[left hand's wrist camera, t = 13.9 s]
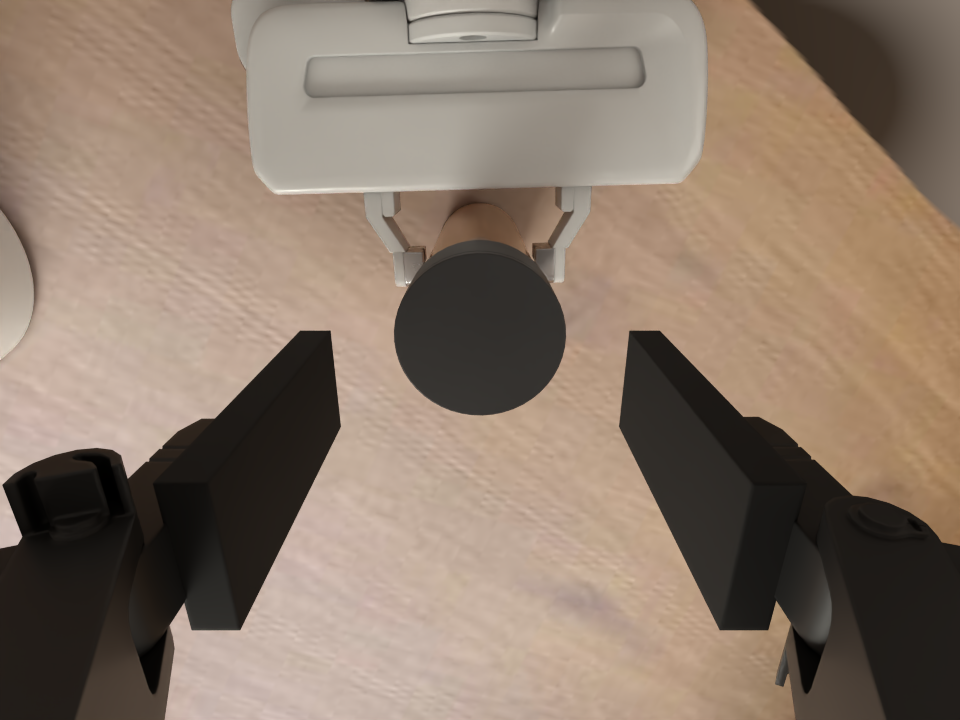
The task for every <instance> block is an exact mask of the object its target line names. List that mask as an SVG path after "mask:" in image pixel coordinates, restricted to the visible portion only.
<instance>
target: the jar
mask: <svg viewBox="0 0 960 720" xmlns="http://www.w3.org/2000/svg"><path fill="white" fill-rule="evenodd" d="M471 240H489V241H495V242H500V243H503V244H506V245H509V246H511V247H513V248H516V249H518V250H519V251H521V252H522V253H524V254H526V255H527V256H528V257H529V258H531V257H530V255H529V253H528V251H527V248H526V246H525V244H524V242H523V240H522V237H521V235H520V233H519V231H518V229H517V226H516V224H515V223H514V221H513V220H512V218H511V217H510V216H509V215H508V214H507V213H506V212H505V211H503V210H502V209H500V208H499V207H496V206H494V205H491V204H487V203H473V204H469V205H466V206H463V207H461V208H460V209H458V210H457V211H455V212H454V213H453V214H452V215H451V216H450V217H449V218H448V220H447V221H446V223H445V224H444V226H443V229H442V231H441V233H440V235H439V237H438V240H437V242H436V244H435V246H434V249H433V251H432V253H431V255H430V257H432V256H433V255H435V254H436V253H437V252H439V251H441V250H443V249H444V248H446V247H448V246H451V245H454V244H456V243H460V242H465V241H471ZM430 257H429V258H430Z"/></svg>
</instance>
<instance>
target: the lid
mask: <svg viewBox="0 0 960 720" xmlns="http://www.w3.org/2000/svg"><path fill="white" fill-rule="evenodd" d="M565 341H566V326H565V320H564V315H563V312H562V309H561V306H560V303H559V301H558V299H557V297H556V295H555V293H554V291H553V289H552V287H551V285H550V283H549V281H548V279H547V277H546V276H545V274H544V273H543V271H542V270H541V269H540V268H539V266H538V265H537V264H536V263H535V262H534V261H533V260H532V259H531V258H529V257H528V256H527V255H526V254H524V253H522V252H521V251H519V250H518V249H516V248H513V247H511V246H509V245H506V244H503V243H500V242H495V241H489V240H471V241H465V242H460V243H456V244H454V245H451V246H448V247H446V248H444V249H443V250H441V251H439V252H437V253H436V254H435V255H433V256H432V257H430V258H429V259H428V260H427V261H426V262H425V263H424V264H423V265H422V266H421V268H420V269H419V270H418V271H417V273H416V274H415V276H414V278H413V279H412V281H411V283H410V285H409V287H408V289H407V291H406V293H405V295H404V297H403V299H402V301H401V304H400V306H399V308H398V312H397V316H396V319H395V327H394V342H395V348H396V353H397V356H398V359H399V362H400V365H401V367H402V369H403V371H404V373H405V374H406V376H407V377H408V379H409V380H410V382H411V383H412V384H413V385H414V386H415V388H416V389H417V390H418V391H419V392H421V393H422V394H423V395H424V396H425V397H427V398H428V399H429V400H431V401H432V402H434V403H436V404H437V405H439V406H441V407H443V408H446V409H448V410H451V411H454V412H458V413H462V414H469V415H492V414H498V413H502V412H506V411H509V410H512V409H514V408H517V407H519V406H521V405H523V404H524V403H526V402H528V401H529V400H531V399H532V398H534V397H535V396H536V395H537V394H538V393H540V392H541V391H542V390H543V389H544V388H545V386H546V385H547V384H548V383H549V382H550V380H551V379H552V378H553V376H554V374H555V373H556V371H557V369H558V367H559V365H560V362H561V359H562V357H563V353H564V348H565Z"/></svg>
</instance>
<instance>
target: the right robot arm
mask: <svg viewBox="0 0 960 720" xmlns="http://www.w3.org/2000/svg"><path fill="white" fill-rule="evenodd" d="M368 1H369V2H368ZM231 18H232V24H233V30H234V36H235V42H236V48H237V52H238V55H239V58H240V61H241V63H242V65H243V67H244V68H245V70H246V87H247V115H248V129H249V140H250V149H251V157H252V164H253V168H254V171H255V173H256V175H257V176H258V178H259V179H260V180H261V181H262V182H263V183H264V184H265V185H266V186H267V187H268V188H269V189H270V190H271V191H272V192H273V193H274V194H277V195H292V194H327V193H362V192H364V202H365V212H366V218H367V220H368V221H369V223H370V224H371V226H372V227H373V228H374V230H375V231H376V233H377V234H378V236H379V237H380V239H381V240H382V242H383V243H384V244H385V246H386V247H387V249H388V250H389V252H390V253H393V261H394V273H395V283H396V286H397V287H406V286H409V285H410V283H411V281H412V279H413V278H414V276H415V274H416V273H417V271H418V270H419V269H420V268H421V266H422V265H423V264H424V263H425V261H426V259H427V258H426V246H410V244H409V243H408V241H407V240H406V238H405V236H404V235H403V233H402V232H401V230H400V229H399V227H398V225H397V224H396V222H395V221H394V219H393V216H394V215H395V214H396V213H398V212H399V211H400V210H401V205H400V191H433V190H468V189H503V188H538V187H556V196H555V205H556V206H557V207H558V208H559V209H561V210H562V211H563V212H564V214H563V216H562V217H561V219H560V221H559V223H558V224H557V226H556V228H555V230H554V231H553V233H552V235H551V237H550V239H549V240H548V242H546V243H532V256H533V259H534V262H535V263H536V264H537V265H538V266H539V268H540V269H541V270H542V271H543V273H544V274H545V276H546V277H547V279H548V281H549V283H553V282H554V283H556V282H563V281H564V276H565V248H568V247H569V245H570V244H571V242H572V240H573V239H574V237H575V236H576V234H577V232H578V231H579V229H580V228H581V226H582V224H583V223H584V221H585V219H586V218H587V216H588V215H589V213H590V205H591V186H609V185H644V184H677V183H681V182H682V181H683V180H684V179H685V178H686V177H687V176H688V175H689V174H690V173H691V171H692V170H693V169H694V168H695V166H696V165H697V164H698V162H699V161H700V159H701V156H702V152H703V146H704V139H705V129H706V116H707V96H708V50H707V37H706V30H705V26H704V22H703V19H702V16H701V14H700V12H699V10H698V8H697V7H696V5H695V4H694V3H693V1H692V0H232V4H231ZM33 307H34V284H33V278H32V272H31V268H30V265H29V261H28V258H27V255H26V253H25V250H24V248H23V246H22V243H21V241H20V239H19V237H18V235H17V234H16V232H15V230H14V228H13V227H12V225H11V223H10V222H9V220H8V219H7V217H6V216H5V215H4V213H3V212H2V211H1V209H0V360H1V359H2V358H3V357H5V356H6V355H7V354H8V353H9V352H10V351H12V350H13V349H14V348H15V347H16V346H17V344H18V343H19V342H20V341H21V339H22V338H23V336H24V335H25V333H26V331H27V329H28V326H29V323H30V321H31V317H32V313H33Z"/></svg>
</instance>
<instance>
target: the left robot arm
mask: <svg viewBox="0 0 960 720" xmlns="http://www.w3.org/2000/svg"><path fill="white" fill-rule="evenodd" d="M340 427H341V424H340V414H339V405H338V396H337V387H336V378H335V368H334V359H333V350H332V341H331V331H300V332H299V333H298V334H297V335H296V336H295V337H294V338H293V339H292V340H291V341H290V342H289V343H288V344H287V345H286V346H285V347H284V348H283V349H282V350H281V351H280V352H279V353H278V354H277V355H276V356H275V357H274V358H273V359H272V360H271V361H270V362H269V364H268V365H267V366H266V367H265V368H264V369H263V370H262V371H261V372H260V373H259V374H258V375H257V376H256V377H255V378H254V379H253V380H252V381H251V382H250V383H249V384H248V385H247V386H246V387H245V388H244V389H243V390H242V391H241V392H240V393H239V394H238V395H237V397H236V398H235V399H234V400H233V401H232V402H231V403H230V404H229V405H228V406H227V407H226V408H225V409H224V410H223V411H222V412H221V413H220V414H219V415H218V416H217V417H216V418H215V419H200V420H198V421H197V422H195V423H193V424H191V425H189V426H187V427H185V428H184V429H182V430H180V431H178V432H177V433H176V434H175V435H174V436H173V437H172V438H171V439H170V440H169V441H167V442H166V443H165V444H164V445H163V448H162V449H159V450H158V451H157V452H156V453H155V454H154V455H153V456H152V457H151V458H150V459H149V462H145V463H144V464H143V465H142V466H141V467H140V468H139V469H138V470H137V471H136V472H135V473H134V474H133V475H132V476H131V477H129V478H128V479H127V475H126V472H125V468H124V465H123V461H122V458H121V455H119V454H118V453H116V452H115V451H113V450H109V449H101V448H92V449H81V450H74V451H70V452H66V453H62V454H57V455H54V456H51V457H49V458H46V459H43V460H41V461H38V462H35V463H33V464H31V465H29V466H27V467H26V468H24V469H22V470H20V471H18V472H17V473H15V474H14V475H13V476H11V477H10V478H9V479H8V480H7V481H6V482H5V483H4V484H3V488H4V490H5V493H6V496H7V498H8V501H9V503H10V506H11V508H12V511H13V514H14V516H15V519H16V521H17V524H18V526H19V529H20V532H21V534H22V539H21V540H20V542H19V544H18V545H16V546H11V547H6V548H1V549H0V720H165V712H166V705H167V698H168V691H169V684H170V677H171V670H172V663H173V656H174V642H173V636H172V633H171V629H170V626H169V625H170V624H171V622H172V621H173V619H174V617H175V616H176V614H177V613H178V611H179V610H180V608H181V607H182V605H183V604H184V603H185V607H186V610H187V614H188V618H189V622H190V625H191V629H192V630H241V628H242V625H243V623H244V621H245V619H246V617H247V615H248V613H249V611H250V609H251V607H252V605H253V603H254V601H255V599H256V597H257V595H258V593H259V591H260V589H261V587H262V585H263V583H264V581H265V579H266V577H267V575H268V573H269V571H270V569H271V567H272V565H273V563H274V561H275V559H276V557H277V555H278V553H279V551H280V549H281V547H282V545H283V543H284V541H285V539H286V537H287V535H288V532H289V530H290V528H291V526H292V524H293V522H294V520H295V518H296V516H297V514H298V512H299V510H300V508H301V506H302V504H303V502H304V500H305V498H306V496H307V494H308V492H309V490H310V488H311V486H312V484H313V482H314V480H315V478H316V476H317V474H318V472H319V470H320V468H321V466H322V464H323V462H324V460H325V458H326V456H327V454H328V452H329V450H330V448H331V446H332V444H333V442H334V440H335V437H336V435H337V433H338V431H339V429H340ZM619 427H620V429H621V431H622V433H623V435H624V437H625V440H626V442H627V444H628V446H629V448H630V450H631V452H632V454H633V456H634V458H635V460H636V462H637V464H638V466H639V468H640V470H641V472H642V474H643V476H644V478H645V480H646V482H647V484H648V486H649V488H650V490H651V492H652V494H653V496H654V498H655V500H656V502H657V504H658V506H659V508H660V510H661V512H662V514H663V516H664V518H665V520H666V522H667V524H668V526H669V528H670V530H671V532H672V535H673V537H674V539H675V541H676V543H677V545H678V547H679V549H680V551H681V553H682V555H683V557H684V559H685V561H686V563H687V565H688V567H689V569H690V571H691V573H692V575H693V577H694V579H695V581H696V583H697V585H698V587H699V589H700V591H701V593H702V595H703V597H704V599H705V601H706V603H707V605H708V607H709V609H710V611H711V613H712V615H713V617H714V619H715V621H716V623H717V625H718V628H719V630H768V629H769V625H770V622H771V618H772V614H773V610H774V607H775V603H776V601H777V602H778V604H779V605H780V607H781V608H782V610H783V611H784V613H785V614H786V616H787V618H788V619H789V621H790V622H791V626H790V629H789V633H788V636H787V640H786V643H785V647H784V650H783V654H782V657H781V661H780V664H779V668H778V671H777V676H776V683H775V684H776V685H779V686H782V687H783V686H784V683H785V680H786V676H787V674H789V675H790V682H791V689H792V697H793V704H794V711H795V718H796V720H960V546H957V545H952V544H947V543H942V542H941V541H940V539H939V537H938V536H937V535H936V534H935V532H934V531H933V530H932V529H931V528H930V527H929V526H928V525H927V524H926V523H925V522H923V521H922V520H920V519H919V518H917V517H916V516H914V515H913V514H911V513H910V512H908V511H906V510H903V509H901V508H899V507H897V506H894V505H892V504H890V503H887V502H883V501H880V500H876V499H872V498H869V497H861V496H853V495H851V494H850V493H849V492H848V491H847V490H846V489H845V488H844V487H843V486H842V485H841V484H840V483H839V482H838V481H837V480H836V479H834V478H833V477H832V476H831V475H830V474H829V473H828V472H827V471H826V470H825V469H824V468H823V467H822V466H821V465H820V464H818V463H817V462H816V461H815V460H811V456H810V455H809V454H808V453H807V452H806V451H805V450H804V449H803V448H801V447H798V444H797V443H796V442H795V441H794V440H793V439H792V438H791V437H790V436H789V435H788V434H787V433H786V432H784V431H783V430H782V429H780V428H779V427H777V426H775V425H773V424H771V423H769V422H767V421H765V420H764V419H762V418H760V417H743V416H742V415H741V414H740V413H739V412H738V411H737V410H736V409H735V408H734V407H733V406H732V405H731V404H730V403H729V402H728V401H727V400H726V399H725V398H724V397H723V395H722V394H721V393H720V392H719V391H718V390H717V389H716V388H715V387H714V386H713V385H712V384H711V383H710V382H709V381H708V380H707V379H706V378H705V377H704V376H703V375H702V374H701V373H700V372H699V371H698V370H697V369H696V368H695V367H694V366H693V365H692V364H691V362H690V361H689V360H688V359H687V358H686V357H685V356H684V355H683V354H682V353H681V352H680V351H679V350H678V349H677V348H676V347H675V346H674V345H673V344H672V343H671V342H670V341H669V340H668V339H667V338H666V337H665V336H664V335H663V334H662V333H661V332H660V331H629V341H628V350H627V359H626V368H625V377H624V387H623V396H622V405H621V414H620V424H619Z"/></svg>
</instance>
